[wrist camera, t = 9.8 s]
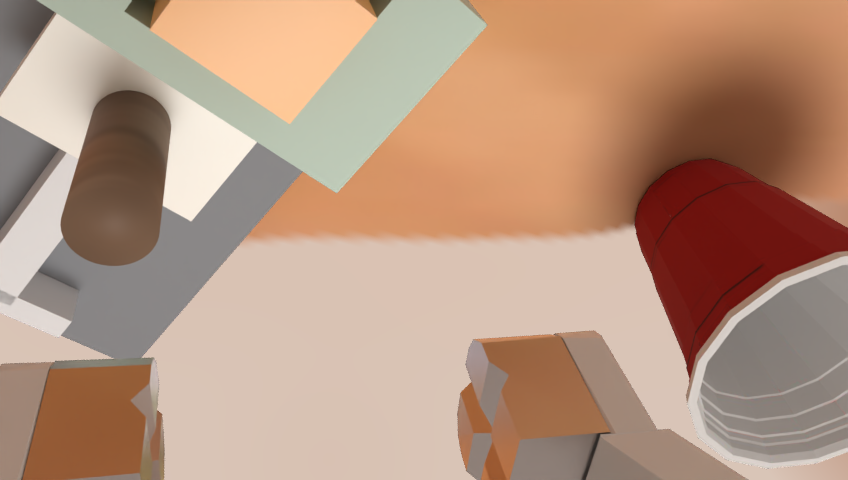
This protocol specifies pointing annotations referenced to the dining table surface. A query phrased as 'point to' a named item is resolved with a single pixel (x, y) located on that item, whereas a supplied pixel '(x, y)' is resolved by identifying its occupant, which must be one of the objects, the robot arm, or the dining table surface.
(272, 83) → the orange cube
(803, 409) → the plastic cup
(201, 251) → the rail board
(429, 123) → the dining table surface
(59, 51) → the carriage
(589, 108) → the dining table surface
